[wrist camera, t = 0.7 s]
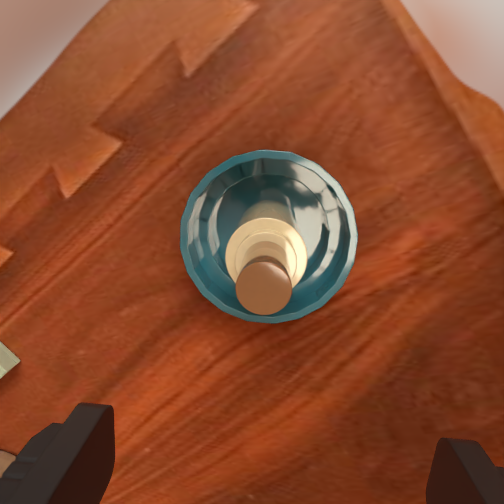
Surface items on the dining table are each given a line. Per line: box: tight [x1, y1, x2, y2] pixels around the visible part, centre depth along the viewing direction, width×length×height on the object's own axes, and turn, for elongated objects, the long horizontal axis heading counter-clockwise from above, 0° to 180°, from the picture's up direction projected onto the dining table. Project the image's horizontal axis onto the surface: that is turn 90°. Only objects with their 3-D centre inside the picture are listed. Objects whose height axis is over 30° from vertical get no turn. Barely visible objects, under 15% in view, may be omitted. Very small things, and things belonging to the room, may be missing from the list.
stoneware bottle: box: [225, 200, 308, 315], centre depth 26 cm, size 5×5×14 cm
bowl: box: [180, 150, 358, 324], centre depth 31 cm, size 13×13×5 cm
